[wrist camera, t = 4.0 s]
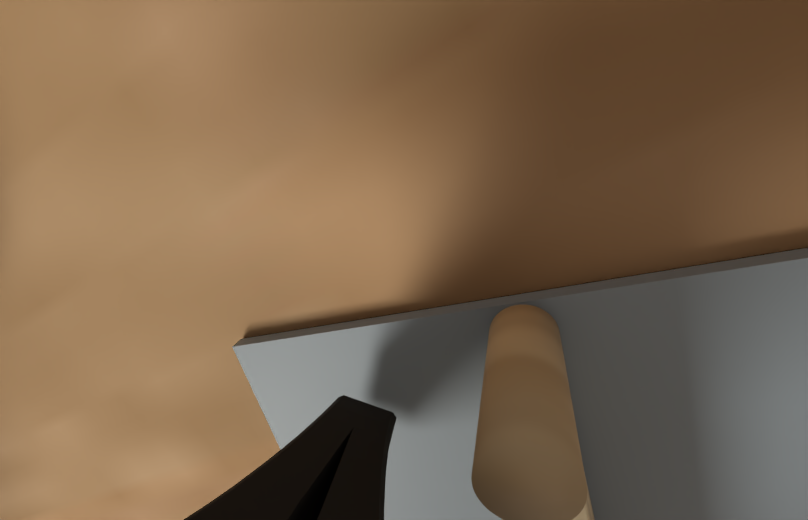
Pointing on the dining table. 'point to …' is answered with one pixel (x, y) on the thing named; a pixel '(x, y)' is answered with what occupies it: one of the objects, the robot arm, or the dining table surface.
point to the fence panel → (528, 424)
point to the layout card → (585, 391)
